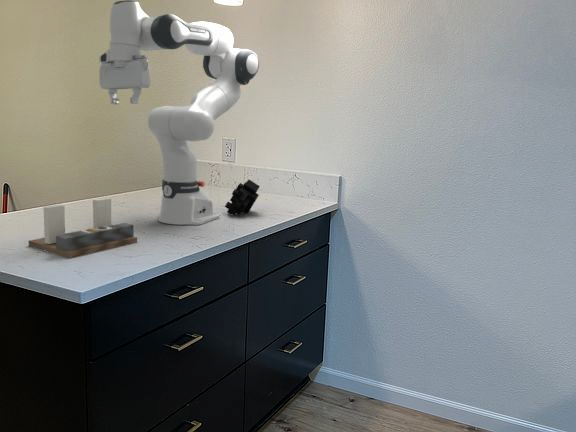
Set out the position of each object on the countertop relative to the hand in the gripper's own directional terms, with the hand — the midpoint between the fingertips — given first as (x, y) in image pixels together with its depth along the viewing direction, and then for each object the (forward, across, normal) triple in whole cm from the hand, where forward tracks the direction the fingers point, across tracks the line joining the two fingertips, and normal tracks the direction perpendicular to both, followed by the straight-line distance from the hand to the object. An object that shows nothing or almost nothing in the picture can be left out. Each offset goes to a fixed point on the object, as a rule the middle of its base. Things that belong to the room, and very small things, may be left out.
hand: (124, 104), depth 171 cm
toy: (+36, -2, -52) cm, 64 cm away
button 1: (+40, 0, +22) cm, 45 cm away
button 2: (+38, +1, +6) cm, 39 cm away
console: (+41, -2, +14) cm, 43 cm away
